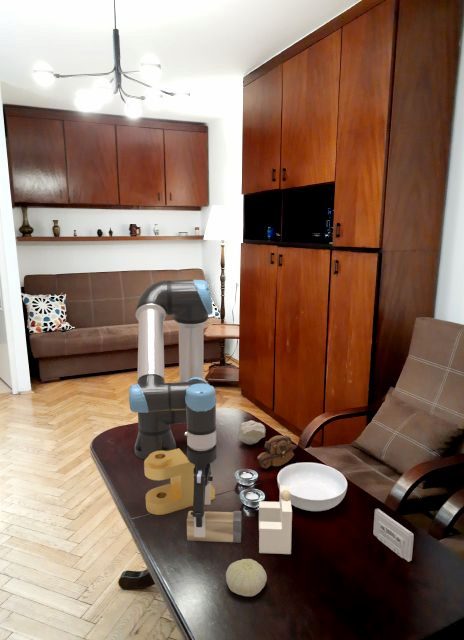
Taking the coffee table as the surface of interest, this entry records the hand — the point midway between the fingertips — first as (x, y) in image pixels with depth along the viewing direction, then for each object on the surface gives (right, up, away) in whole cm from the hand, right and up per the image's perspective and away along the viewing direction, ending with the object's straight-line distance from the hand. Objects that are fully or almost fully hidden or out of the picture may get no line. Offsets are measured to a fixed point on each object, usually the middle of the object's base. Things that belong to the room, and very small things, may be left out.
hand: (202, 519), depth 119 cm
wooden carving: (+24, +2, +38) cm, 44 cm away
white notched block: (+19, -5, 0) cm, 20 cm away
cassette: (+49, -6, -3) cm, 50 cm away
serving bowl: (+32, -2, +18) cm, 36 cm away
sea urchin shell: (+8, -9, -16) cm, 20 cm away
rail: (+3, -5, +1) cm, 6 cm away
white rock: (+15, +5, +52) cm, 54 cm away
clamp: (-9, -2, +17) cm, 19 cm away
